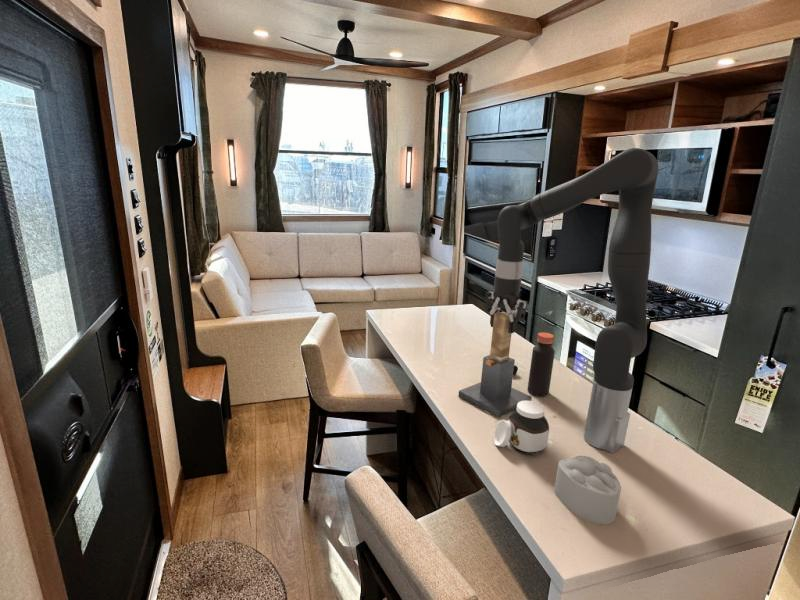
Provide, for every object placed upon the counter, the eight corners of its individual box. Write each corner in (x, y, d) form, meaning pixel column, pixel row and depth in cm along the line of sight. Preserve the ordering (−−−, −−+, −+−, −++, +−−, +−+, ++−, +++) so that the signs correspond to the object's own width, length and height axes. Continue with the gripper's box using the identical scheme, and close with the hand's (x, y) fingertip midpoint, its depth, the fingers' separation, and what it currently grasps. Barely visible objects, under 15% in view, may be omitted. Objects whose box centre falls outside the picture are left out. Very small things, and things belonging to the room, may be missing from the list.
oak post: (506, 376, 139) (513, 315, 133) (498, 379, 136) (505, 317, 131) (496, 371, 142) (502, 311, 136) (487, 375, 139) (494, 313, 134)
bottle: (523, 391, 147) (530, 334, 142) (533, 385, 152) (541, 329, 146) (542, 399, 143) (550, 340, 137) (552, 392, 147) (560, 335, 142)
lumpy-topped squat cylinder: (583, 479, 105) (589, 447, 103) (628, 518, 94) (636, 483, 91) (547, 488, 102) (552, 455, 99) (589, 530, 90) (596, 494, 88)
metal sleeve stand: (531, 402, 140) (536, 361, 136) (498, 418, 130) (503, 374, 126) (491, 383, 152) (495, 344, 148) (458, 396, 142) (461, 355, 138)
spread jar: (550, 453, 115) (556, 412, 112) (517, 465, 109) (523, 423, 106) (517, 429, 125) (522, 392, 122) (485, 440, 119) (490, 400, 116)
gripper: (537, 278, 127) (529, 334, 132) (497, 269, 138) (491, 321, 142) (521, 281, 123) (514, 339, 127) (480, 271, 133) (475, 325, 138)
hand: (502, 329), depth 135 cm, fingers open, 6 cm apart
